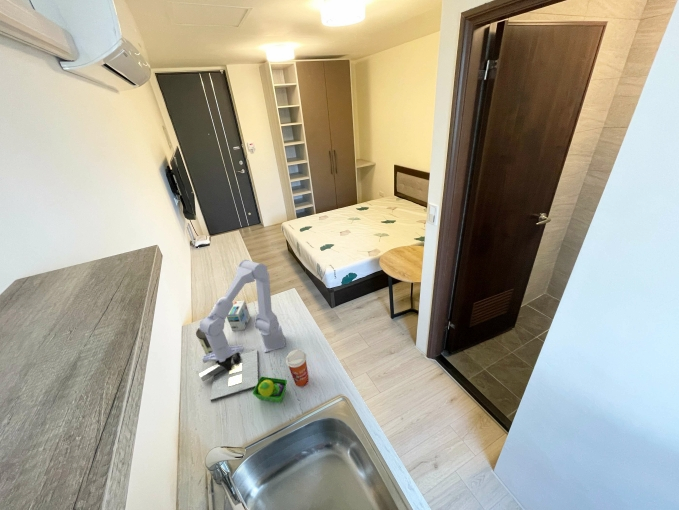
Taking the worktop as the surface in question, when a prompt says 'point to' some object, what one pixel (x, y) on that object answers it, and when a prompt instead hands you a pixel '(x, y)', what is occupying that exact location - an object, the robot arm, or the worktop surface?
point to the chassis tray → (236, 377)
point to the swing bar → (215, 369)
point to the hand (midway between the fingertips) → (230, 368)
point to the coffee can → (204, 341)
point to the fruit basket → (270, 389)
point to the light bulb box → (238, 315)
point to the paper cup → (298, 367)
